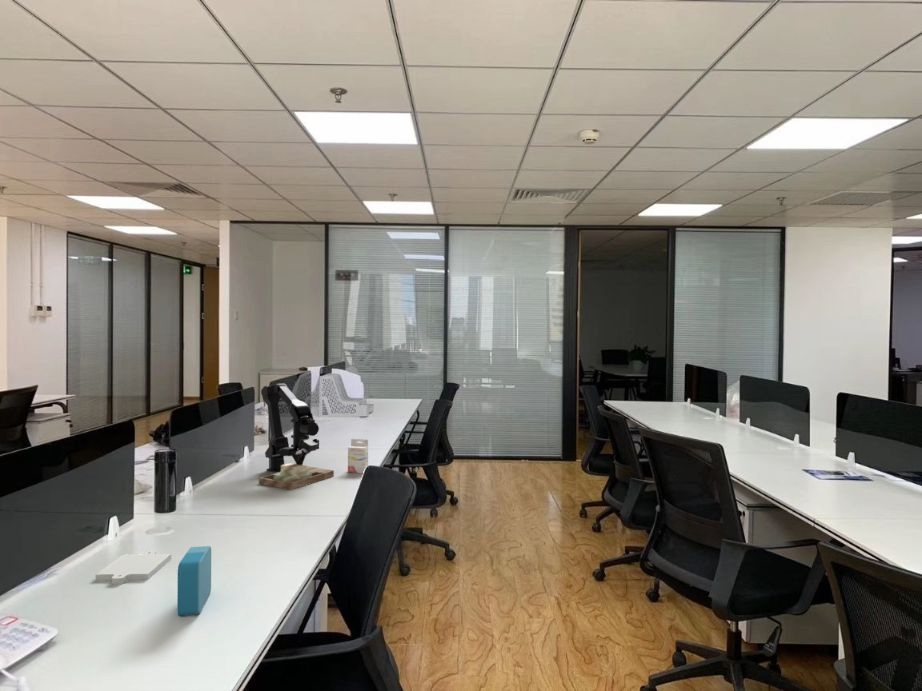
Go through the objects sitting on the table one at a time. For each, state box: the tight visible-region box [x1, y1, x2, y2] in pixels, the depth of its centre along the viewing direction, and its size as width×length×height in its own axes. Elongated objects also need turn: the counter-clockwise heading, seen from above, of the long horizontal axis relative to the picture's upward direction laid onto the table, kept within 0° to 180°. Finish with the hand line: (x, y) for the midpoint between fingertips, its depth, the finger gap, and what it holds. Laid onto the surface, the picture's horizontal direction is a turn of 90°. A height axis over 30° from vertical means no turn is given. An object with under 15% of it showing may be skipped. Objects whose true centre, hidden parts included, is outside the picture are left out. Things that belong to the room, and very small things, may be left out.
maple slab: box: [280, 462, 307, 476], centre depth 243 cm, size 10×5×4 cm, turn 62°
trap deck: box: [258, 465, 335, 491], centre depth 243 cm, size 18×26×2 cm
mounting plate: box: [95, 550, 172, 585], centre depth 149 cm, size 18×13×2 cm
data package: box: [176, 545, 212, 617], centre depth 130 cm, size 12×4×12 cm, turn 12°
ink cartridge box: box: [347, 438, 369, 474], centre depth 259 cm, size 9×5×15 cm, turn 84°
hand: (299, 468), depth 247 cm, fingers closed
